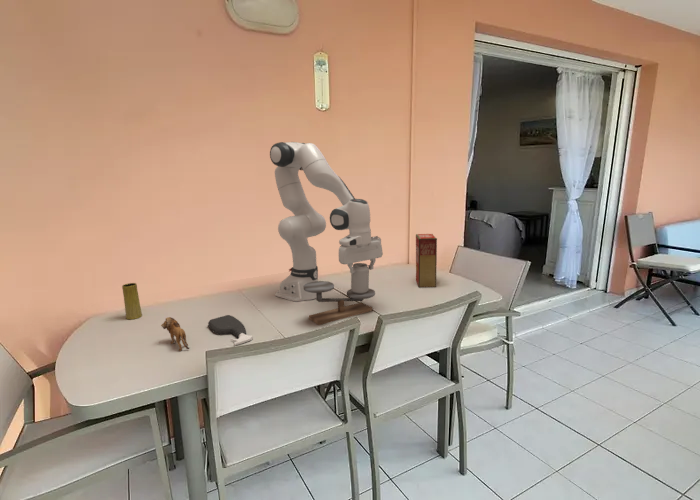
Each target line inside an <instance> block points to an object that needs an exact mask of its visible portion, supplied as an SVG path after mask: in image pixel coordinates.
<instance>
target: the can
mask: <svg viewBox="0 0 700 500" xmlns="http://www.w3.org/2000/svg"><path fill="white" fill-rule="evenodd" d="M352 267H353V269H355V273H353V274H352V273H350V275H351V277H350V289H351V290H352V291H353V293H356V294H364V293H366V292H367V291H368V290H369V289H370V288H369V285H370V283H369V281H370V280H369V279H370V278H369V277H370V269H369V268H368V264H367V263H364V262H355V263H353V266H352Z"/></svg>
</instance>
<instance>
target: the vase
mask: <svg viewBox="0 0 700 500" xmlns="http://www.w3.org/2000/svg"><path fill="white" fill-rule="evenodd" d="M121 288H122V294H123V303H124V310H125V319H126V320H128V321H129V320H130V321H131V320H138V319H140V318H141V317H143V313H142V308H141V303H140V296H139V292H138V285H137V283H136V282H130V283H125V284H123V285H122V286H121Z"/></svg>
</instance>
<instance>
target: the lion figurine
mask: <svg viewBox="0 0 700 500" xmlns="http://www.w3.org/2000/svg"><path fill="white" fill-rule="evenodd" d="M160 326H161V328H163V330H167V332H168V333H169V334H170V339H171V342H170V344H171V345H172V344H173V345H174V344H175V343H177V345H178V347H179V349H178V351H179V352H181V351H183V347H182V346H184V348H185V349H186V350H190V347H189V343H188V342H187V335H186V332H185V330H184V329H183V328H182V327H181V325H180V323H179V322H178V321H177V320H176V319H175V318H174V317H171V316H169V317H165V320H164V321H163V322H162V324H161V325H160ZM181 342H182V344H181Z"/></svg>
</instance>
